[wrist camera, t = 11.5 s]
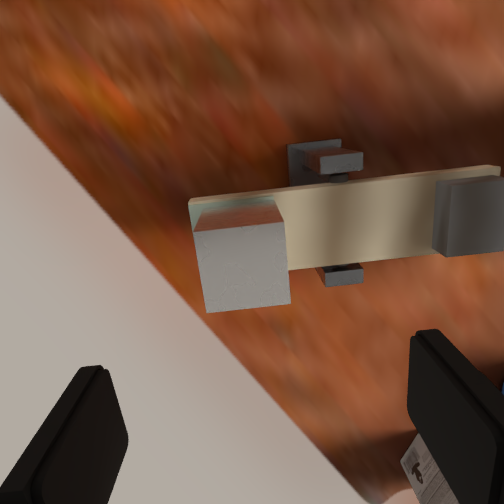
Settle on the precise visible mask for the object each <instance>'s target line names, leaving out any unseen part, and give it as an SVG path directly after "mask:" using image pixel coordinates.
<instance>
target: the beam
mask: <svg viewBox="0 0 504 504" xmlns="http://www.w3.org/2000/svg"><path fill="white" fill-rule="evenodd" d="M500 171H501V167H499V166H492V165H479V166H471V167H462V168H453V169H444V170H435V171H427V172H418V173H409V174H400V175H391V176H383V177H374V178H365V179H356V180H348V174H347V173H336V174H330V175H329V183H321V184H312V185H303V186H295V187H286V188H277V189H268V190H259V191H251V192H242V193H233V194H224V195H215V196H206V197H198V198H191V199H190V200H189V202H188V208H189V213H190V219H191V225H192V231H194V228H195V226H196V224H197V222H198V219H199V217H200V215H201V213H202V211H203V208H209V207H218V206H227V205H236V204H244V203H253V202H262V201H271V200H275V202H276V205H277V207H278V209H279V211H280V214H281V216H282V218H283V220H284V225H285V237H286V249H287V262H288V270H296V269H304V268H313V267H322V266H331V265H335V266H346V265H348V264H349V263H358V262H367V261H376V260H385V259H394V258H403V257H412V256H421V255H430V254H439V253H440V254H442V255H443V256H445V257H454V256H463V255H472V254H481V253H490V252H499V251H504V177H501V176H500ZM200 278H201V277H200Z"/></svg>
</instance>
